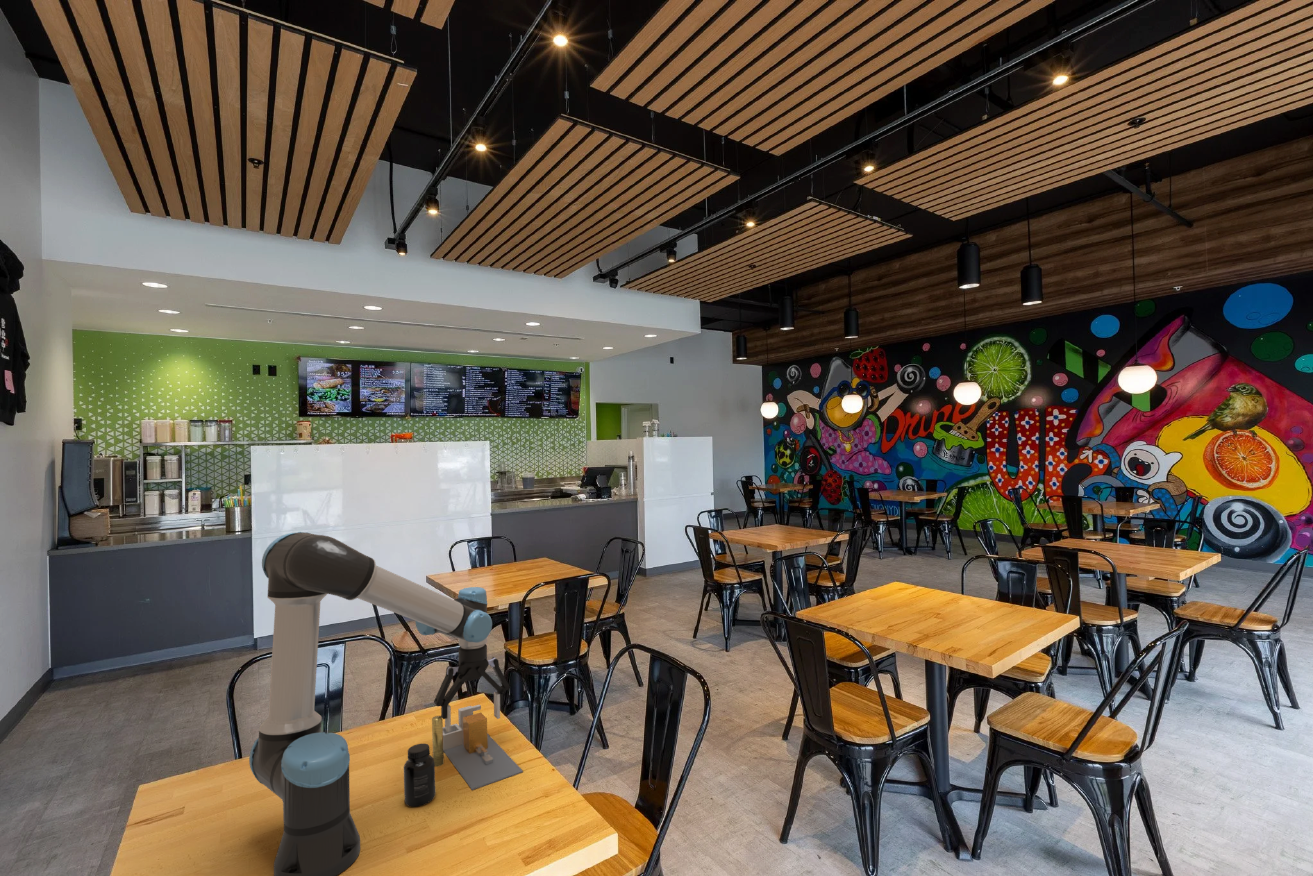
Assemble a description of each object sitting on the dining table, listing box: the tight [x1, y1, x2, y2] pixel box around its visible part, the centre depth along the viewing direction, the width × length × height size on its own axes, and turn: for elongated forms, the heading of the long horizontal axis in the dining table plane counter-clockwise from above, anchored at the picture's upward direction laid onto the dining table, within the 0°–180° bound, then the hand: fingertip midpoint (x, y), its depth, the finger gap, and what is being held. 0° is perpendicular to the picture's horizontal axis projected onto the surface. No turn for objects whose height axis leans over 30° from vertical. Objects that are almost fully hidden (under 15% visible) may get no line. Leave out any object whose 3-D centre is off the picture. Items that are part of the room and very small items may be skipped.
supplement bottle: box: [403, 742, 437, 808], centre depth 142 cm, size 7×7×12 cm
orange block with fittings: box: [463, 712, 493, 765], centre depth 162 cm, size 14×5×8 cm, turn 35°
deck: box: [443, 704, 524, 791], centre depth 161 cm, size 30×13×8 cm, turn 35°
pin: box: [431, 715, 445, 767], centre depth 158 cm, size 3×3×12 cm
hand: (472, 723), depth 165 cm, fingers open, 13 cm apart
